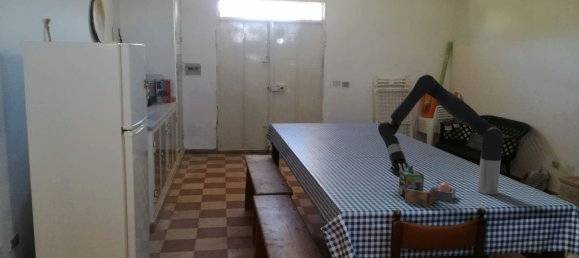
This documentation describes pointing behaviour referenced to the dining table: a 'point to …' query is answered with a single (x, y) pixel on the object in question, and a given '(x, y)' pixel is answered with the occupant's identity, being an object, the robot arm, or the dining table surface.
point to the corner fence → (420, 197)
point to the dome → (444, 187)
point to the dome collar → (445, 194)
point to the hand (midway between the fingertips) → (406, 183)
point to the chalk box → (410, 181)
